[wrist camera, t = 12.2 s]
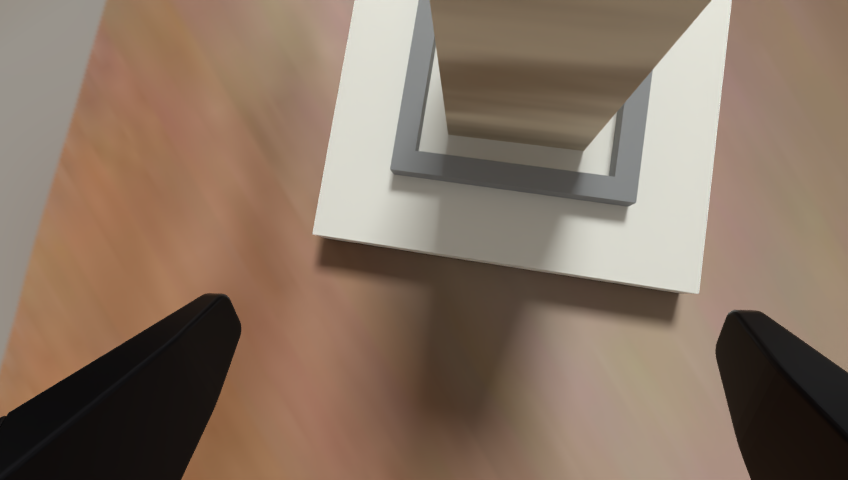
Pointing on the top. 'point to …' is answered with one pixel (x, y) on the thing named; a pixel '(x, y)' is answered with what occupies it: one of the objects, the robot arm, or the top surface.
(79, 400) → the robot arm
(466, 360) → the top surface
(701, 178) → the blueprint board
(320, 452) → the top surface
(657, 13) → the maple pillar
